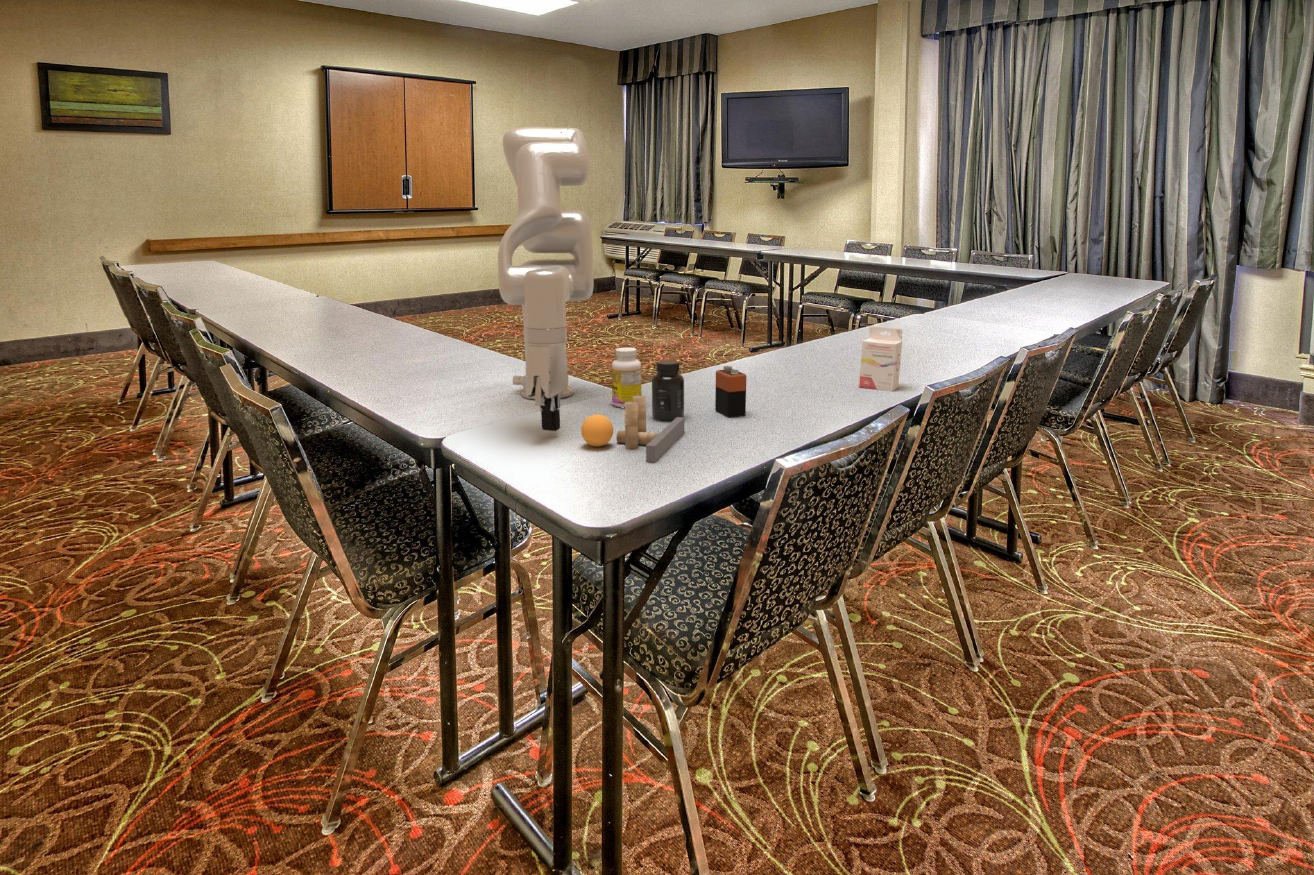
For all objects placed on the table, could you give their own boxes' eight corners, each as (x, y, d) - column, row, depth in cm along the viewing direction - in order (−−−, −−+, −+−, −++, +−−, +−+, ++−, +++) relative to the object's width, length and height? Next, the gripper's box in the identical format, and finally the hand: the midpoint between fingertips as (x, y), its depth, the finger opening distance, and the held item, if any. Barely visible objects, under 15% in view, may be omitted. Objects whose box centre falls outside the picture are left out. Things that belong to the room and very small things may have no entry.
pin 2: (632, 441, 150) (631, 398, 148) (636, 437, 152) (635, 395, 150) (644, 442, 149) (643, 398, 147) (648, 438, 152) (647, 396, 149)
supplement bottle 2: (645, 418, 166) (645, 363, 162) (663, 412, 171) (663, 357, 168) (672, 423, 162) (672, 366, 159) (690, 416, 168) (690, 361, 164)
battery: (732, 409, 174) (733, 364, 171) (746, 416, 167) (747, 370, 165) (714, 410, 172) (714, 366, 169) (728, 418, 166) (729, 372, 163)
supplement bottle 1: (612, 402, 180) (610, 346, 177) (640, 401, 181) (640, 346, 177) (612, 409, 174) (611, 352, 170) (642, 408, 174) (641, 351, 171)
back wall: (646, 461, 138) (646, 445, 137) (676, 431, 156) (676, 417, 155) (654, 462, 137) (654, 446, 137) (684, 432, 156) (684, 417, 155)
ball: (608, 453, 145) (585, 452, 148) (624, 431, 148) (602, 430, 152) (592, 430, 141) (569, 430, 145) (609, 407, 144) (586, 407, 148)
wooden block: (616, 431, 148) (659, 435, 145) (620, 429, 150) (663, 432, 148) (616, 444, 148) (659, 447, 146) (620, 441, 151) (663, 444, 148)
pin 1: (623, 448, 145) (622, 404, 143) (627, 445, 148) (627, 401, 145) (635, 449, 145) (635, 405, 142) (640, 446, 147) (639, 402, 145)
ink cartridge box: (858, 387, 193) (862, 328, 189) (864, 384, 197) (868, 325, 193) (892, 391, 188) (897, 330, 184) (898, 388, 192) (903, 328, 188)
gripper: (545, 329, 156) (549, 418, 161) (510, 341, 142) (516, 438, 147) (580, 331, 154) (583, 421, 159) (548, 343, 140) (552, 441, 145)
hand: (551, 429), depth 153 cm, fingers closed
